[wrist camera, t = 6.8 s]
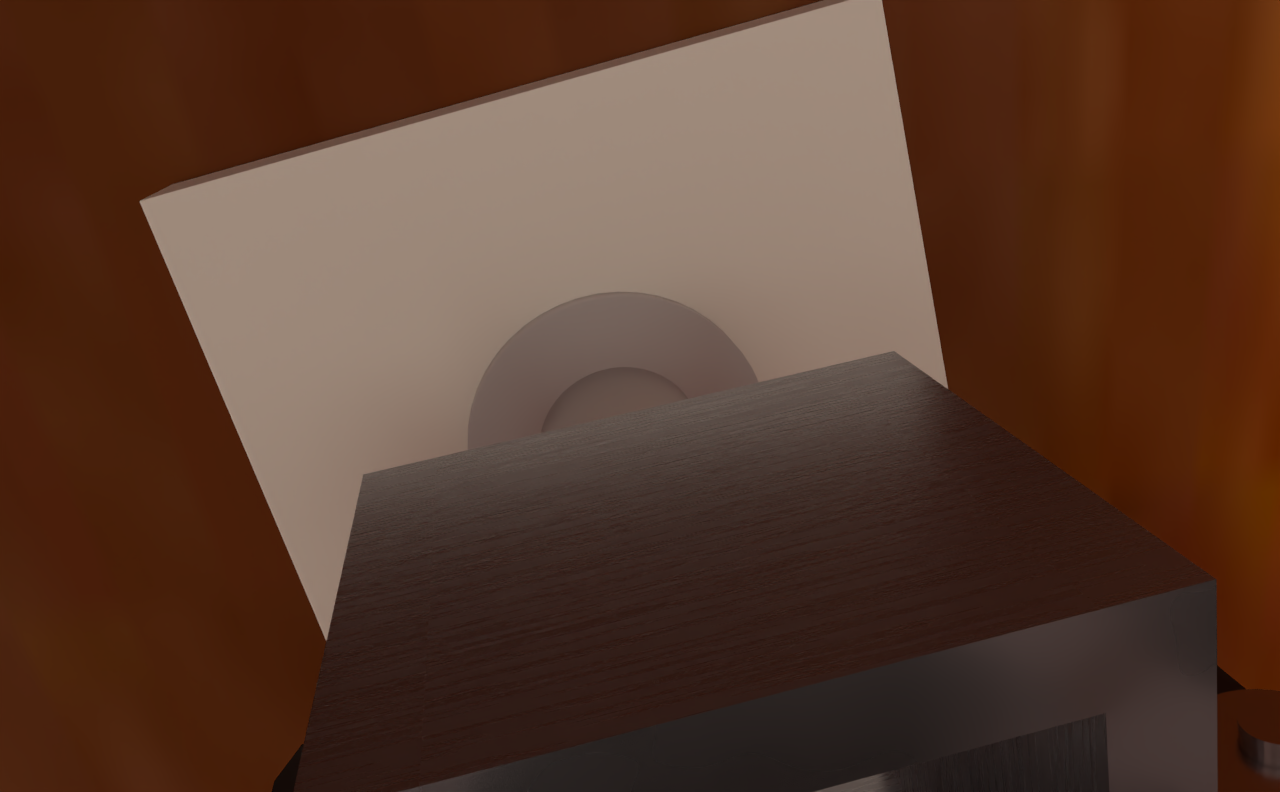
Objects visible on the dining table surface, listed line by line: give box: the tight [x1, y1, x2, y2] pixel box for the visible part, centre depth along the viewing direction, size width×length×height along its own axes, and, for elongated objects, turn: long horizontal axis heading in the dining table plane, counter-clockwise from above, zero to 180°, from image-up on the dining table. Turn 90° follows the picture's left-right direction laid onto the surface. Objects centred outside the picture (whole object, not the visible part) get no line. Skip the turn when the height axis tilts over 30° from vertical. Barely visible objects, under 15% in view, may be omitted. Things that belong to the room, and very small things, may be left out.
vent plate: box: [140, 0, 948, 641], centre depth 17 cm, size 12×12×8 cm
